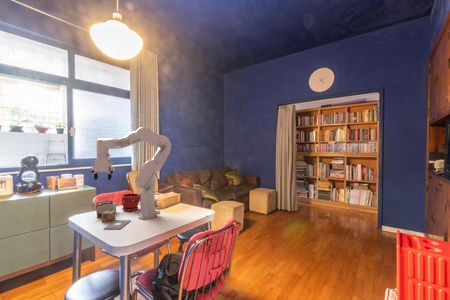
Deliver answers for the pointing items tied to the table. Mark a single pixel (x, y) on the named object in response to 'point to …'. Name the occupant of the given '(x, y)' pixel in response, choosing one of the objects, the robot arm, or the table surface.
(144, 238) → the table surface
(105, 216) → the walnut block
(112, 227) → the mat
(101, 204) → the food container
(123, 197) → the plant pot
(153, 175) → the robot arm
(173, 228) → the table surface
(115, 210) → the grey narrow block
